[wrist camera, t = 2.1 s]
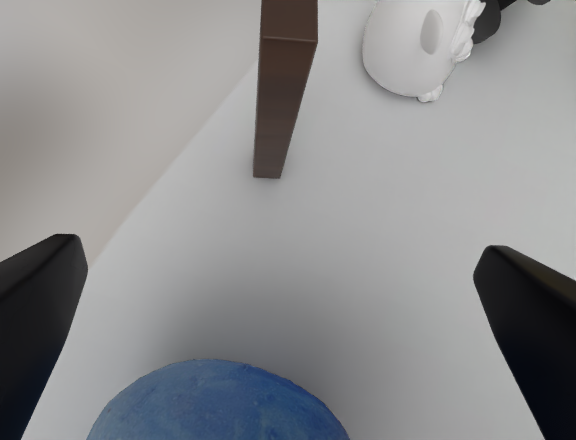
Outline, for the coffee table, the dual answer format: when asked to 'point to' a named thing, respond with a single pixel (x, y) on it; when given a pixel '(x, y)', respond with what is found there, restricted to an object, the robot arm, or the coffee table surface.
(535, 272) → the robot arm
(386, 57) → the figurine
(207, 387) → the blueberry
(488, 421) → the coffee table surface
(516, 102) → the coffee table surface
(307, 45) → the stick
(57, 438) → the coffee table surface
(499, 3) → the character figurine
